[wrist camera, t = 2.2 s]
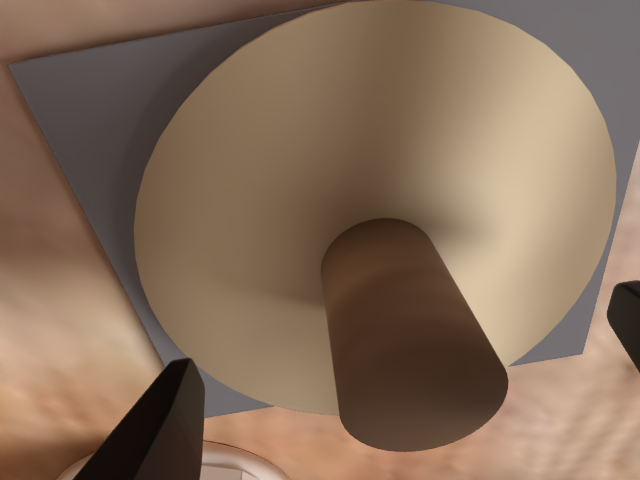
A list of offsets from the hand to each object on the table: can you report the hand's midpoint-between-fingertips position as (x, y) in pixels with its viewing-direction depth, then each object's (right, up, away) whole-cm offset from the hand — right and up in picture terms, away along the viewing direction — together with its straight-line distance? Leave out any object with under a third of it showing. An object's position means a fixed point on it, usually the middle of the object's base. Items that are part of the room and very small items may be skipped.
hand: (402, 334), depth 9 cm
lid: (0, +2, +3) cm, 3 cm away
